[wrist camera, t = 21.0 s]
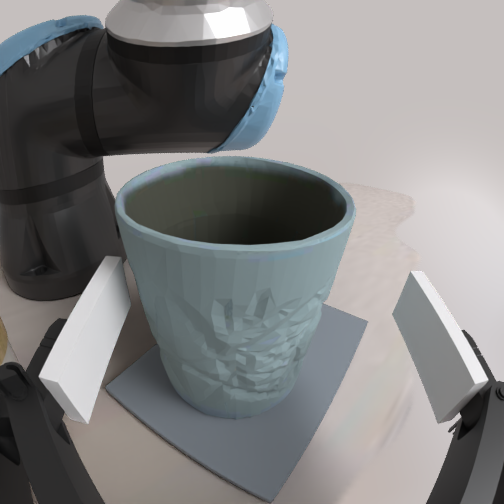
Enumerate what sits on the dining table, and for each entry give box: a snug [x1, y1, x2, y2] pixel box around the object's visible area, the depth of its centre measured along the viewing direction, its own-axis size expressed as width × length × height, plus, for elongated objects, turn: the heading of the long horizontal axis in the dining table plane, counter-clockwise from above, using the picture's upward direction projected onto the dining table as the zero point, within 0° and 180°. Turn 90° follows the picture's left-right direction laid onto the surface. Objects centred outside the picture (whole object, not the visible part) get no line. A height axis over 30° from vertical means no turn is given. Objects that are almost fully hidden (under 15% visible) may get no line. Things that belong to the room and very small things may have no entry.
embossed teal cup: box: [115, 156, 356, 420], centre depth 16 cm, size 10×10×12 cm
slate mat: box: [105, 303, 368, 503], centre depth 20 cm, size 12×16×1 cm
